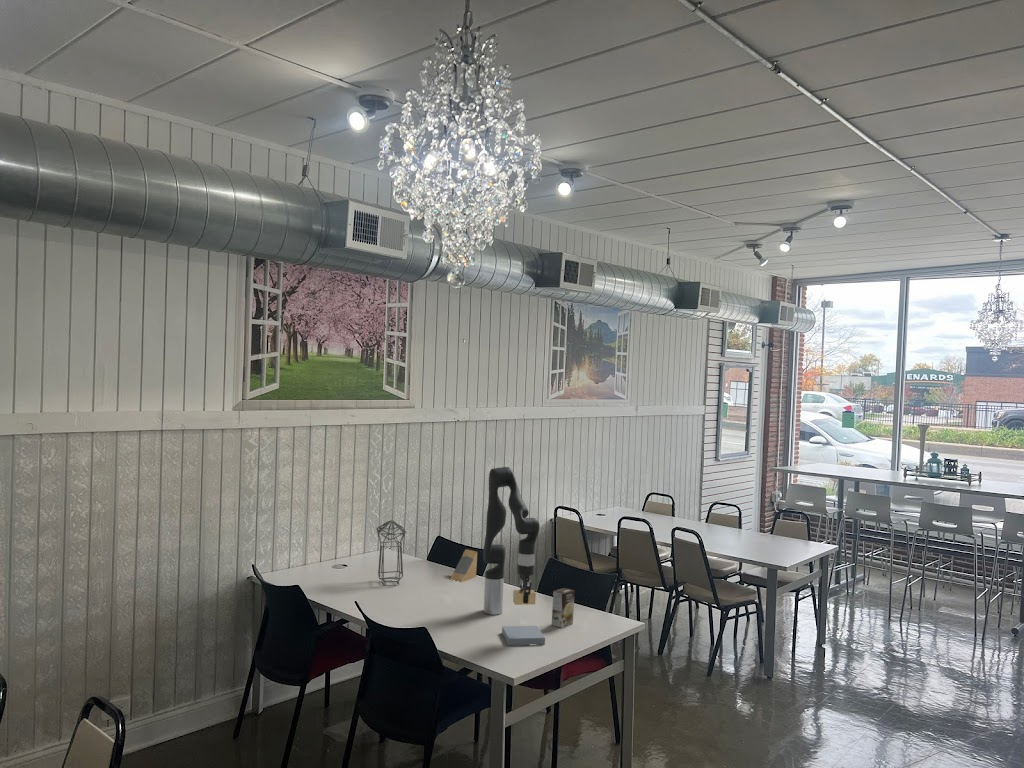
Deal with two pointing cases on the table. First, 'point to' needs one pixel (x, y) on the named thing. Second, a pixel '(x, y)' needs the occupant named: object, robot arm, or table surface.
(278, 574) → the table surface
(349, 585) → the table surface
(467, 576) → the sandwich container
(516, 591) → the tan rectangular block
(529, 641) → the slate board
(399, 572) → the geometric lantern
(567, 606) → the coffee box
